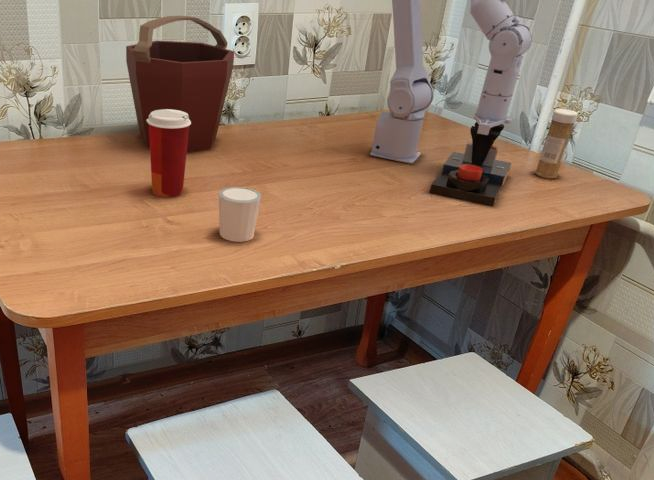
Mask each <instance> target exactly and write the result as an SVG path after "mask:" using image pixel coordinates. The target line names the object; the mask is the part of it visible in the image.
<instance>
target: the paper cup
mask: <svg viewBox="0 0 654 480" xmlns="http://www.w3.org/2000/svg"><path fill="white" fill-rule="evenodd" d="M146 121H147V123H148V124H149V138H150V148H149V157H150V158H149V159H150V172H151V173H150V174H151V175H150V176H151V189H152V194H153V195H156V196H157V197H163V198H175V197H179V196H181V195H182V194H183V191H184V185H185V183H184V181H185V173H186V163H187V154H188V152H187V145H188V133H189V125H191V121H190V120H189V115H188V114H187V113H186V112H183V111H179V110H172V109H161V110H155V111H152V112H151V113H150V115H149V118H148V119H147V120H146Z"/></svg>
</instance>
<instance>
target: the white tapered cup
mask: <svg viewBox="0 0 654 480" xmlns="http://www.w3.org/2000/svg"><path fill="white" fill-rule="evenodd" d="M261 200H262V194H261V193H260V192H259V191H258V190H255V188H254V189H253V188H250V187H244V186H228V187H224V188H222V189H220V190H219V192H218V218H219V219H218V220H219V221H218V222H219V223H218V225H219V236H220V237H221V238H223V239H224V240H226V241H230V242H236V243H243V242H248V241H251V240H253V238H254V236H255V233H256V232H255V230H256V227H257V221H258V215H259V210H260V206H261Z"/></svg>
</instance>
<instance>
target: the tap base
mask: <svg viewBox="0 0 654 480" xmlns="http://www.w3.org/2000/svg"><path fill="white" fill-rule="evenodd" d="M464 154H465V153H462V152H456V151H452V153H451V154H450V155H449V156H448V158H447V159H446V161H445V162H444V163H443V165H442V168H441V173H443V174H448V175H449V173H450V172H451V171H455V170H459V166H460V165H463V164H470V165H475V166H478V167H481V168H482V169H483V172H482V174H483V175H486V176H487V177H488V178H489V181H488V183H492V184H497V185H501V189H500V192H501V191H502V189H503V187H504V185H505V183H506V180H507V179H508V176H509V173H510V169H511V166H512V162H509V161H503V160H499V159H495V162H494V165H493V167H489V166H484V165H478V164H473V163H469V162H463V157H464Z"/></svg>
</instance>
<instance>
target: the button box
mask: <svg viewBox="0 0 654 480" xmlns="http://www.w3.org/2000/svg"><path fill="white" fill-rule="evenodd" d="M457 174H458V170H455V171H451V172H450V173H449V175H448V174H443V173H442V172H440V173H439V174H438V175H437V176H436V178H435V179H434V180H433V181H432V183H431V184H430V189H429V194H432V195H437V196H442V197H447V198H451V199H456V200H461V201H465V202H469V203H473V204H479V205H484V206H489V207H494V205H495V204H496V201H497V199H498V198H499V195H500V192H501V191H500V189H501V185H497V184H492V183H488V181H489V178H488V177H487V176H486V175H483V174H482V176H481V179H480V181H469V180H464V179H461V178H459V177H457ZM501 190H502V189H501Z"/></svg>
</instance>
